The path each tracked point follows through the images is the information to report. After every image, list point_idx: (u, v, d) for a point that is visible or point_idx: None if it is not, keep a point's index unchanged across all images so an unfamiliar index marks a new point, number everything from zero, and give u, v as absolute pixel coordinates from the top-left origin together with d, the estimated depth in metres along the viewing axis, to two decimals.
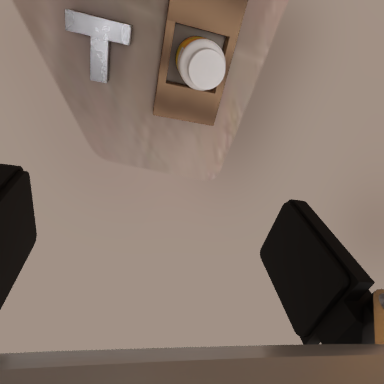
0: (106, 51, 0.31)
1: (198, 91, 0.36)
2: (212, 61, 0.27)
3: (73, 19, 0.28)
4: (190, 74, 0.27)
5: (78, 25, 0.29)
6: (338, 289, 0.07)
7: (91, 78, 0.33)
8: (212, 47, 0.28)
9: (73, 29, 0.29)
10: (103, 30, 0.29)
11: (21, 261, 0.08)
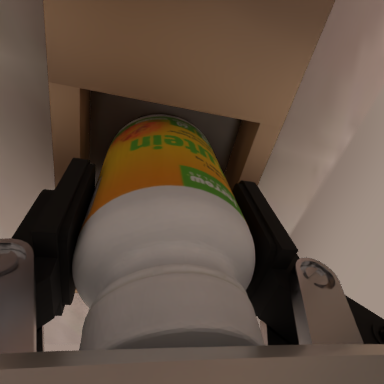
0: None
1: None
2: None
3: None
4: None
5: None
6: (266, 257, 0.07)
7: None
8: (203, 236, 0.06)
9: None
10: None
11: None
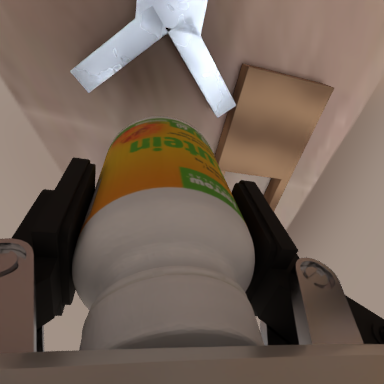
0: None
1: None
2: None
3: None
4: None
5: None
6: (266, 257, 0.07)
7: None
8: (202, 237, 0.06)
9: None
10: None
11: None
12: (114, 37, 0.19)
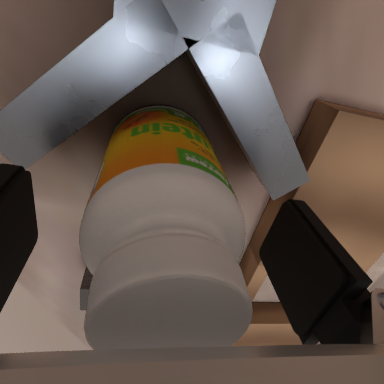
0: None
1: (288, 324, 0.22)
2: (193, 306, 0.06)
3: None
4: (97, 348, 0.06)
5: None
6: (336, 288, 0.07)
7: None
8: (196, 206, 0.07)
9: None
10: None
11: (23, 260, 0.08)
12: (67, 60, 0.09)
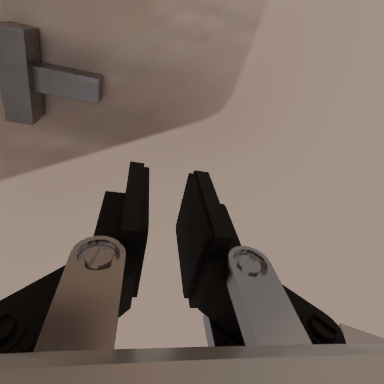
0: (50, 71, 0.21)
1: None
2: None
3: (15, 112, 0.21)
4: None
5: (20, 107, 0.21)
6: (202, 246, 0.07)
7: (95, 101, 0.22)
8: None
9: (28, 114, 0.21)
10: (15, 71, 0.19)
11: None
12: None
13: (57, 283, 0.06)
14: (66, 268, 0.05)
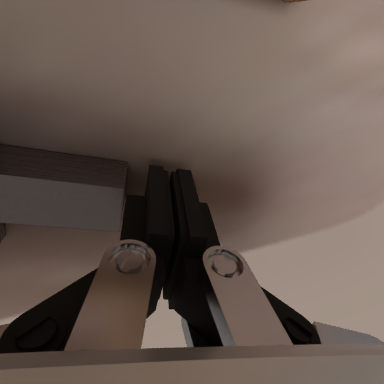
0: (4, 179, 0.08)
1: None
2: None
3: None
4: None
5: None
6: (178, 246, 0.07)
7: (114, 228, 0.10)
8: None
9: None
10: None
11: None
12: None
13: (89, 282, 0.06)
14: (99, 269, 0.06)
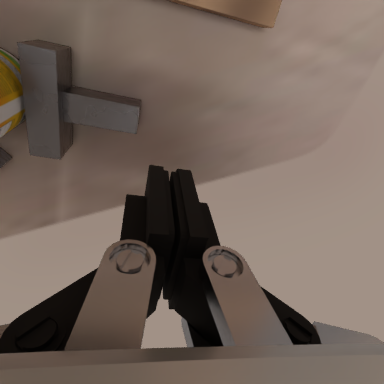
0: (83, 98, 0.17)
1: None
2: None
3: (41, 145, 0.18)
4: None
5: (47, 140, 0.18)
6: (178, 246, 0.07)
7: (133, 131, 0.19)
8: None
9: (56, 148, 0.18)
10: (43, 100, 0.16)
11: None
12: None
13: (89, 282, 0.06)
14: (99, 269, 0.06)
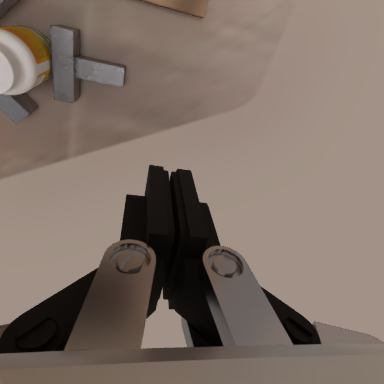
0: (88, 62, 0.28)
1: None
2: None
3: (61, 93, 0.28)
4: None
5: (65, 89, 0.28)
6: (178, 246, 0.07)
7: (120, 85, 0.29)
8: None
9: (71, 94, 0.28)
10: (64, 62, 0.26)
11: None
12: None
13: (89, 282, 0.06)
14: (99, 269, 0.06)
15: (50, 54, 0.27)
